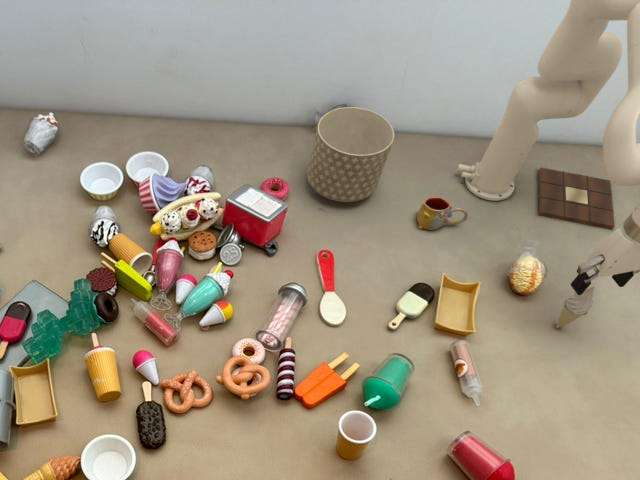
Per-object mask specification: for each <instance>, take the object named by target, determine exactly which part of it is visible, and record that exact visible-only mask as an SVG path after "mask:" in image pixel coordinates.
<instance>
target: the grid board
mask: <svg viewBox="0 0 640 480" xmlns="http://www.w3.org/2000/svg"><path fill="white" fill-rule="evenodd" d="M612 195H613V193H612V182H610V181H609V179H605V178H599V177H594V176H590V175H584V174H578V173H571V172H568V171H567V172H566V171H564V170H563V171H561V170H556V169H550V168H545V167H539V169H538V216H542V217H547V218H552V219H557V220H563V221H567V222H572V223H577V224H583V225H588V226H594V227H598V228H602V229H608V230H613V229H614V228H615V215H614V205H613V197H612Z"/></svg>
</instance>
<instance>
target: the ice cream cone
mask: <svg viewBox="0 0 640 480" xmlns="http://www.w3.org/2000/svg"><path fill="white" fill-rule="evenodd" d="M594 289H595V286H591V287H588V288H587V289H586V290H585V291H584V293H583V294H582V295H577V293H576V292H574V294H573V295H572V294H570V295H569V298H566V299H565V300H564V303H563V307H562V310H561V313H560V316H559V317H558V321H557V324H556V326H555V327H556V329H560V328H562V327H564V326H566V325H568V324H570V323H572V322H574V321H576V320H577V319H580V318H581V317H582V316H586V315H587V314H588V312H589V311H590V310H591V309H592V308H593V304H594V300H593V298H594Z"/></svg>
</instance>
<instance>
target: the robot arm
mask: <svg viewBox="0 0 640 480" xmlns="http://www.w3.org/2000/svg"><path fill="white" fill-rule="evenodd" d="M610 21H613V22H614V21H615V22H616V21H626V46H627V47H626V48H627V49H626V50H627V91H626V94H625V95H624V97H623V98H622V99H621V100H620V101H619V103H618V104H617V105H616V107H615V109H613V111H612V113H611V115H610V117H609V119H608V121H607V123H606V126H605V129H604V132H603V136H602V158H603V159H602V161H603V162H602V163H603V170H604V173H605V176H606V179H607V180H609V181H610V183H611V184H614V185H616V186H621V187H629V186H632V187H633V186H640V142H637V128H638V127H637V126H638V121H639V118H640V0H570V2H569V6H568V9H567V11H566V13H565V15H564V17H563V19H562V20H561V22H560V23H559V25H558V26H557V28H556V30H554V33H553V35H552V36H551V38H550V39H549V41H548V43H547V45H545V48H544V50H543V51H542V53H541V55H540V57H539V59H538V63H537V73H538V74H539V76H532V77H528V78H523V79H522V80H520V81H519V82H518V83H516V85H515V86H514V87H513V88H512V90H511V93H510V95H509V99H508V103H507V106H506V109H505V111H504V114H503V116H502V119H501V120H500V123H499V125H498V127H497V128H496V131H495V133H494V134H493V137H492V139H491V140H490V143H489V144H488V146H487V148H486V150H485V152H484V154H483V156H482V158H481V160H480V162H479V161H476V163H475V164H474V165H473V164H471V165H467V164H462V163H458V165H457V168H456V171H457V172H460V173H461V175H460V177H461V178H464V179H465V180H464V181H465V186H466V188H467V190H469V192H470V193H472V194H473V195H474V196H476V197H478V198H480V199H483V200H486V201H493V202H494V201H495V202H496V201H497V202H498V201H504V200H506V199H508V198H510V197H511V195H512V194H513V193H514V190H515V182H514V179H515V177H516V176H517V174H518V172H519V170H520V169H521V167H522V165H523V164H524V162H525V160H526V159H527V157H528V155H529V154H530V152H531V151H532V148H533V147H534V145H535V143H536V141H538V138H539V134H540V129H539V126H538V122H540V121H543V120H544V121H545V120H556V119H571V118H576V117H578V116H580V115H581V114H583V113H584V112H585V111H586V110H587V109H588V108H589V107H590V106H591V104H592V103H593V102H594V100H595V99H596V97H597V96H598V95H599V93H601V90H603V88H604V87H605V85H606V84H607V83H608V81H609V80H610V79H611V77H612V76H613V74H614V73H615V72H616V70H617V68H618V66H619V64H620V61H621V58H622V54H623V43H622V40H621V39H620V37H619V36H618V35H616V34H614V33H611V32H605V31H606V29H607V27H608V25H609V22H610ZM597 266H599V268H598V267H597ZM591 270H593V271H594V273H593V274H591V275H589V274H588V272H589V271H591ZM576 273H577V275H576V276H575V278H574V279H573V280H572V281H571V283H570V287H571V288H572V290H573V291H574V293H577V295H582V294H583V293H584V291H585V290H587V289H589V288H590V286H591V285H592V281H594V280H595V279H597V278H599V277H609V276H611V279H612V280H613V281H614V282H615V283H616V285H617V286H618V287H619V288H623V287H625V286H626V285H627V283H628V282H630V280H631V279H632V278H634V276H635V275H636V274H638V273H640V203H639V204H638V205H637V206H636V207H635V208H634V210H633V211H632V212H631V213H630V214H629V216H628V217H627V218H626V219H625V221H623V223H622V225H621V226H619V227H617V228H616V229H615V230H614V231H612V232H611V233H610V234H609V235H608V236H607V237H605V239H603V241H602V242H601V243H600V244H599V245H598V246H597V247H596V248H595V249H594V250H593V251H592V252H591V254H590V255H589V256H588V257H587V259H586V261H584V262H581V263H580V264H578V265H577V270H576Z"/></svg>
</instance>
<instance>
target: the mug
mask: <svg viewBox="0 0 640 480" xmlns="http://www.w3.org/2000/svg"><path fill="white" fill-rule="evenodd" d="M452 207H453V205H451V204H450V203H449V201H448V200H446V199H445V198H444V197H440V196H432V197H428V198H427V199H425V200H424V201H423V202H422V203H421V204H420V208H419V209H418V211H417V213H416V214H417V215H416V221H417V224H418V229H424V230H428V231H435V230H438V229H440V228H442V227H443V226H455V225H460V224H463V223H464V222H466V221H467V219H468V217H469V213H468V211H467V210H466V209H465V208H462V207H455V208H452ZM454 212H455V213H456V212H462V213H463V217H462V218H461V219H458V220H449V218H453V213H454Z"/></svg>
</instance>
